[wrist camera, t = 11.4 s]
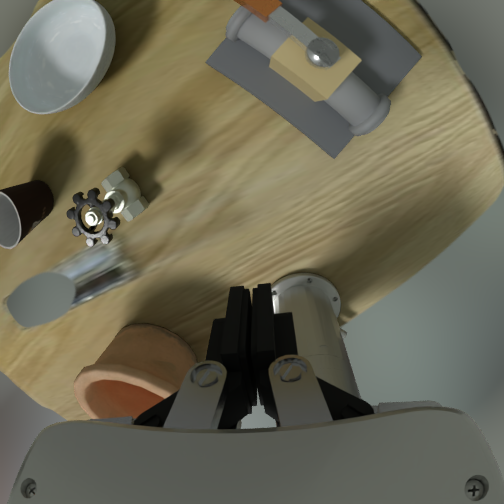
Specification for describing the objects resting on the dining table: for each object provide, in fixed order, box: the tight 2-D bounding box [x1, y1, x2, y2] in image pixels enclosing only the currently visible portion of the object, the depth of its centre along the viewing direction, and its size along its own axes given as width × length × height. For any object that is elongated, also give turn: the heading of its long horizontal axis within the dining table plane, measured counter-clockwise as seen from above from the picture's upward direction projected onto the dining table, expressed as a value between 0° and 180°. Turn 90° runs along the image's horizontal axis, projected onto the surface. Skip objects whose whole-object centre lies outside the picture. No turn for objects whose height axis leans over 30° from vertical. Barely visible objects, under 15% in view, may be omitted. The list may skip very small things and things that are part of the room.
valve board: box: [205, 0, 422, 159], centre depth 27 cm, size 20×20×9 cm
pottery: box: [74, 324, 197, 419], centre depth 47 cm, size 22×22×14 cm
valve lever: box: [234, 0, 341, 70], centre depth 22 cm, size 14×3×2 cm, turn 48°
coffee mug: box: [0, 180, 54, 249], centre depth 36 cm, size 12×9×10 cm
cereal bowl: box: [9, 0, 116, 114], centre depth 28 cm, size 17×17×7 cm
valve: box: [67, 167, 149, 247], centre depth 35 cm, size 7×7×12 cm
